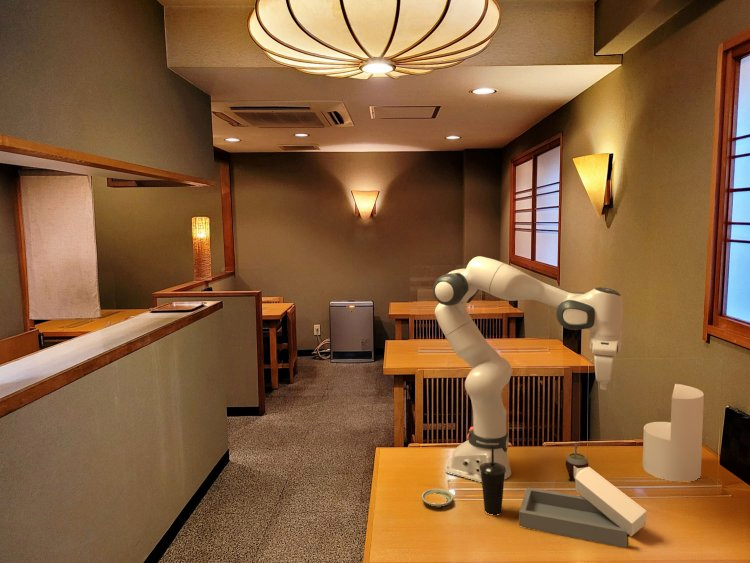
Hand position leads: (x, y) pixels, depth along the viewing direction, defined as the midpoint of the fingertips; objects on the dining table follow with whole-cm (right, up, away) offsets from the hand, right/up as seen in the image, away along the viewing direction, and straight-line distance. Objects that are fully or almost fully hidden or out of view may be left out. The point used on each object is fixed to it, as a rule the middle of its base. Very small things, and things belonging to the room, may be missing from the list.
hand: (603, 388), depth 158 cm
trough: (-11, -37, -7) cm, 39 cm away
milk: (+3, -34, -15) cm, 37 cm away
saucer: (-49, -37, +7) cm, 62 cm away
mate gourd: (-1, -34, +18) cm, 39 cm away
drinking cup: (-33, -37, +1) cm, 49 cm away
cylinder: (+33, -33, +23) cm, 52 cm away
